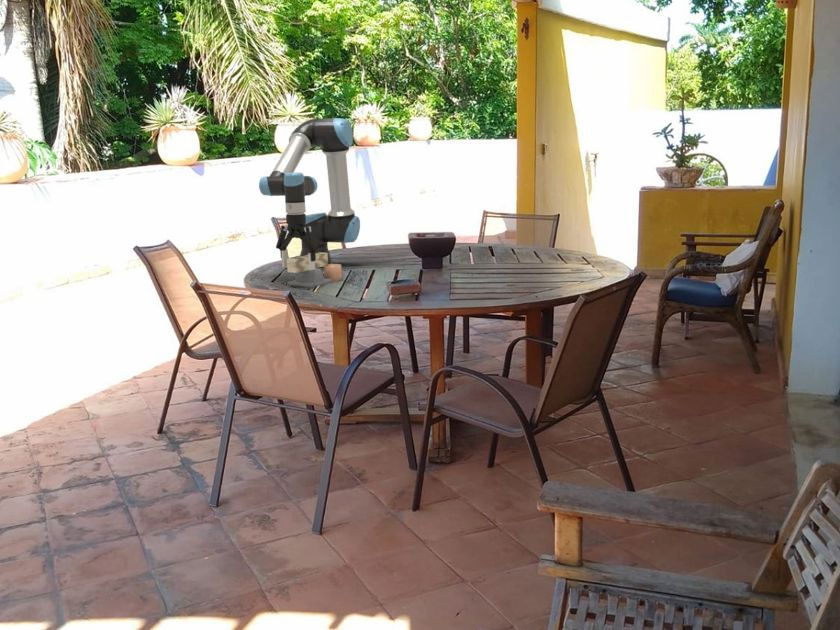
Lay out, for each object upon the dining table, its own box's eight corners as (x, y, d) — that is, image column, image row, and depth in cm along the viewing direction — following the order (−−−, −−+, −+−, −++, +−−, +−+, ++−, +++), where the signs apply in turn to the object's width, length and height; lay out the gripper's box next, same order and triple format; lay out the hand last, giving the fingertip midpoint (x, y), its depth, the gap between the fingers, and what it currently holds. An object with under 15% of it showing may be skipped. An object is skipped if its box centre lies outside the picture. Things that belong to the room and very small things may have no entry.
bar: (320, 264, 328) (319, 252, 327) (328, 265, 326) (327, 253, 325) (287, 272, 312) (286, 259, 311) (295, 272, 310) (294, 260, 309)
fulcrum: (307, 279, 329) (307, 265, 327) (330, 282, 322) (330, 267, 321) (287, 284, 319) (287, 269, 317) (311, 287, 312) (310, 272, 311)
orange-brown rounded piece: (331, 277, 333) (331, 263, 331) (345, 279, 329) (344, 264, 328) (320, 280, 327) (320, 265, 326) (334, 282, 323) (333, 267, 322)
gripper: (264, 213, 313) (268, 267, 318) (314, 215, 300) (317, 272, 304) (278, 211, 319) (281, 264, 324) (327, 213, 306) (329, 269, 310)
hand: (298, 268), depth 314 cm, fingers open, 13 cm apart
